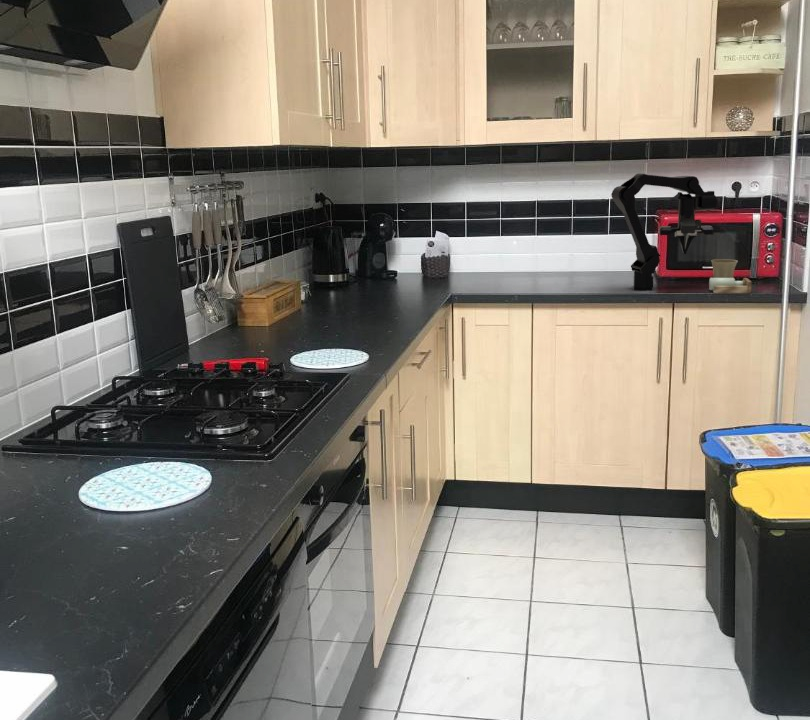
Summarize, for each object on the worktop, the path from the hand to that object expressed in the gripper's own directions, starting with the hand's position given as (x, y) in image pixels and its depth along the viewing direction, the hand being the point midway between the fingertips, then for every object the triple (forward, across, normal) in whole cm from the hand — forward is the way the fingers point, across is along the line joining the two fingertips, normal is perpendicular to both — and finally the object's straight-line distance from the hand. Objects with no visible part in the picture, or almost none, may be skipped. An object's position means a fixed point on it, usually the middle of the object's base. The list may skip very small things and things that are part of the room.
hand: (684, 253), depth 308 cm
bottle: (+10, +8, -10) cm, 16 cm away
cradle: (+12, +14, -10) cm, 21 cm away
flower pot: (+12, +15, +6) cm, 20 cm away
